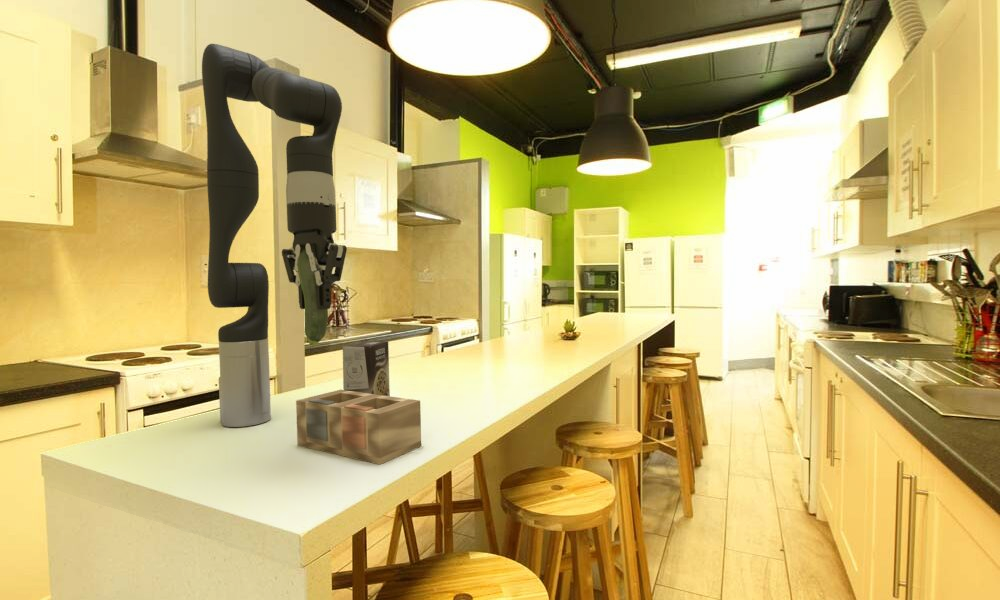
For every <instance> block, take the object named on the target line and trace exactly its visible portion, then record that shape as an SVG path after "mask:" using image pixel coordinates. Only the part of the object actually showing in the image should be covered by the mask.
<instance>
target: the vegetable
mask: <svg viewBox="0 0 1000 600" xmlns="http://www.w3.org/2000/svg"><path fill="white" fill-rule="evenodd" d="M297 266H298V274H299V279H300V284H301V288H302V291H303V295H304V302H305V309H304V334H305V337H306V340H307V342H308V344H309V345H312V346H314V347H316V346H317V345H318V344H319V343H320V341H321V340H322V339H323V338H324V337H325V336H326V334H327V333H326V332H327V328H328V322H329V313H328V312H329V311H328V310H329V309H318V308H317V298H316V286H318V285H317V283H316V278H315V273H314V272H312V270H311V266H310V261H309V256H308V255H307V253H306V248H305V249H303V250H302V252H301V253H300V255H299V257H298V261H297ZM320 266H325V265H320ZM322 276H324V272H322Z"/></svg>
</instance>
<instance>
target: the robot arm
mask: <svg viewBox="0 0 1000 600" xmlns="http://www.w3.org/2000/svg"><path fill="white" fill-rule="evenodd" d="M201 77H202V78H201V79H202V88H203V89H202V90H203V99H204V100H203V101H204V108H205V119H206V133H207V134H206V141H207V142H206V143H207V144H206V145H207V146H206V147H207V148H206V149H207V154H206V155H207V156H206V159H207V160H206V172H207V173H206V179H207V183H206V184H207V185H206V186H207V203H208V216H209V239H208V241H209V242H208V243H209V244H208V264H207V293H208V299H209V302H210V303H211V305H212V306H213V307H214V308H217V309H218V308H219V309H222V308H223V309H226V308H227V309H229V308H247V311H246V313H245V314H244V315H243V316H241V317H240V318H238V319H237V320H235V321H233V322H229V323H226V324H225V325H222V326H220V327H219V329H218V331H217V332H218V334H217V335H218V337H217V338H218V355H219V356H218V358H219V375H220V376H219V377H218V390H219V391H218V393H219V395H218V396H219V397H218V398H219V414H220V415H219V416H220V417H219V418H220V419H219V421H220V423H221V425H222V426H224V427H228V428H242V427H250V426H255V425H258V424H259V425H261V424H263V423H266V422H269V420H271V419H272V418H271V417H272V412H271V410H272V409H271V408H272V407H271V406H272V405H271V381H270V377H271V376H270V355H269V354H270V353H269V349H270V348H269V296H270V295H269V292H270V291H269V290H270V289H269V288H270V287H269V286H270V282H269V275H268V271H267V269H266V267H265V265H263V264H262V263H260V262H229V259H230V252H231V248H232V245H233V242H234V240H235V238H236V236H237V235H238V232H239V231H240V229H241V228H242V226H243V225H244V224H245V222H246V221H247V219H248V218H249V217H250V216H251V214H252V213H253V211H254V210H255V208H256V207H257V204H258V201H259V197H260V195H259V194H260V191H259V190H260V186H259V185H260V184H259V183H260V182H259V181H260V179H259V178H260V177H259V176H260V175H259V167H258V163H257V161H256V159H255V157H254V155H253V154H252V151H251V150H250V149H249V147H248V145H247V143H246V142H245V141H244V139H243V137H242V136H241V134H240V133H239V131H238V129H237V127H236V124H235V123H234V121H233V118H232V116H231V112H230V109H229V103H228V98H229V99H233V100H237V101H243V102H246V103H247V102H248V103H250V102H251V103H257V102H259V103H260V104H261V105H262V106H263V107H266V108H267V109H269V110H271V111H273V112H274V114H275V115H276V116H277V117H279V118H281V119H283V120H286V121H290V122H293V123H297V124H304V125H307V126H312V127H313V132H312V135H297V136H293V137H291V138H290V139H289V140H288V141H287V143H286V148H285V150H286V151H285V152H286V175H287V176H286V177H287V178H286V185H285V187H286V188H285V193H286V196H285V197H286V224H287V231H288V232H289V233H290V234H292V235H293V241H292V246H291V247H290V248H286V249H285V248H283V249H282V250H281V256H282V259H283V263H284V267H285V272H286V275H287V278H288V279H287V280H288V282H289V283H290V284H291V283H293V284H295V285H296V287H297V288H298V303H299V308H300V309H301V310H305V302H304V295H303V291H302V288H301V284H300V279H299V274H298V266H297V261H298V257H299V255H300V253H301V252H302V250H303V249H305V248H306V253H307V255H308V256H309V261H310V266H311V270H312V272H314V273H315V278H316V283H317V285H318V286H316V298H317V308H318V309H328V310H330V309H331V307H332V286H333V285H334V283H336V282H340V281H341V278H342V275H343V274H342V273H343V269H344V265H345V260H346V257H347V256H346V255H347V251H348V248H347V246H346V245H344V244H343V245H342V244H337V243H335V240H334V238H333V235H332V234H334V233H336V232H337V230H338V229H337V228H338V227H337V207H336V206H337V204H336V203H337V201H336V199H337V198H336V189H335V182H334V169H333V168H334V164H333V163H334V161H333V151H334V145H335V140H336V136H337V131H338V127H339V123H340V119H341V116H342V111H343V103H342V98H341V96H340V94H339V92H338V91H337V89H336V88H335V87H334V86H332V85H330V84H328V83H325V82H322V81H319V80H318V81H317V80H315V79H311V78H308V77H304V76H301V75H297V74H294V73H292V72H289V71H286V70H282V69H280V68H276V67H271V66H270V65H269V64H267V63H266V62H265V61H264V60H262V59H261V58H260V57H258V56H256V55H254V54H251V53H249V52H246V51H242V50H239V49H235V48H232V47H228V46H224V45H221V44H217V43H209V44H207V45H206V47H205V48H204V51H203V53H202V59H201ZM320 265H325V266H320ZM334 268H335V269H334ZM333 270H334V273H333ZM295 272H296V274H295ZM322 272H324V276H322Z"/></svg>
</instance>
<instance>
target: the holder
mask: <svg viewBox="0 0 1000 600" xmlns="http://www.w3.org/2000/svg"><path fill="white" fill-rule="evenodd" d="M295 405H296V408H295V409H296V410H295V411H296V435H297V436H296V437H297V438H296V439H297V446H300V447H305V448H309V449H313V450H316V451H321V452H325V453H330V454H334V455H337V456H343V457H346V458H347V457H348V458H350V459H355V460H359V461H363V462H368V463H373V464H375V465H382V464H384V463H387V462H389V461H391V460H393V459H396V458H398V457H401V456H402V455H404V454H406V453H409V452H411V451H413V450H416V449H418V448H420V447H422V423H421V422H422V419H421V416H422V415H421V400H419V399H418V400H417V399H413V398H412V399H410V398H405V397H396V396H391V395H390V396H383V395H376V394H369V393H362V392H354V391H347V390H344V389H337V390H333V391H329V392H324V393H320V394H317V395H313V396H309V397H305V398H301V399H296V400H295Z"/></svg>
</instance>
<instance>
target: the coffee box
mask: <svg viewBox="0 0 1000 600" xmlns="http://www.w3.org/2000/svg"><path fill="white" fill-rule="evenodd" d="M389 351H390V350H389V341H388V340H386V341H385V340H383V341H382V340H381V341H380V340H379V341H378V340H377V341H376V340H374V341H359V342H355V343H352V344H347V345H344V346H343V345H342V369H343V370H342V376H343V377H342V379H343V380H342V382H343V383H342V385H343V389H342V390H347V391H354V392H362V393H369V394H376V395H383V396H391V395H390V393H391V392H390V389H391V388H390V363H389V362H390V360H389V359H390V357H389V356H390V355H389V354H390V353H389Z"/></svg>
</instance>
